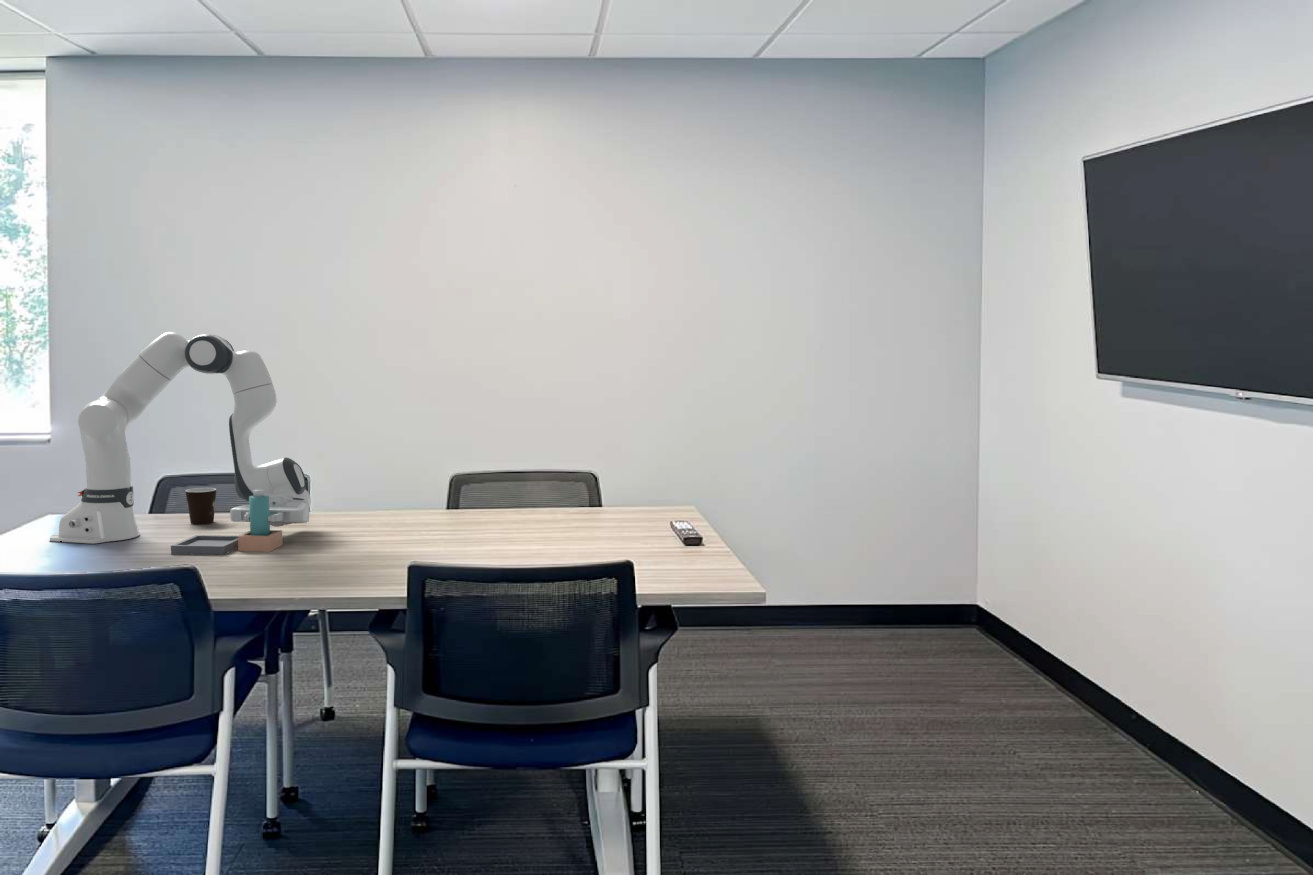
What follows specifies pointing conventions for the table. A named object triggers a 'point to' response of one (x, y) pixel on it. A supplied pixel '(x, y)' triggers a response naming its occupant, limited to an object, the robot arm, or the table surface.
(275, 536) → the orange open box
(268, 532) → the bottle
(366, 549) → the table surface
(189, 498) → the coffee mug
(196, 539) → the tray
